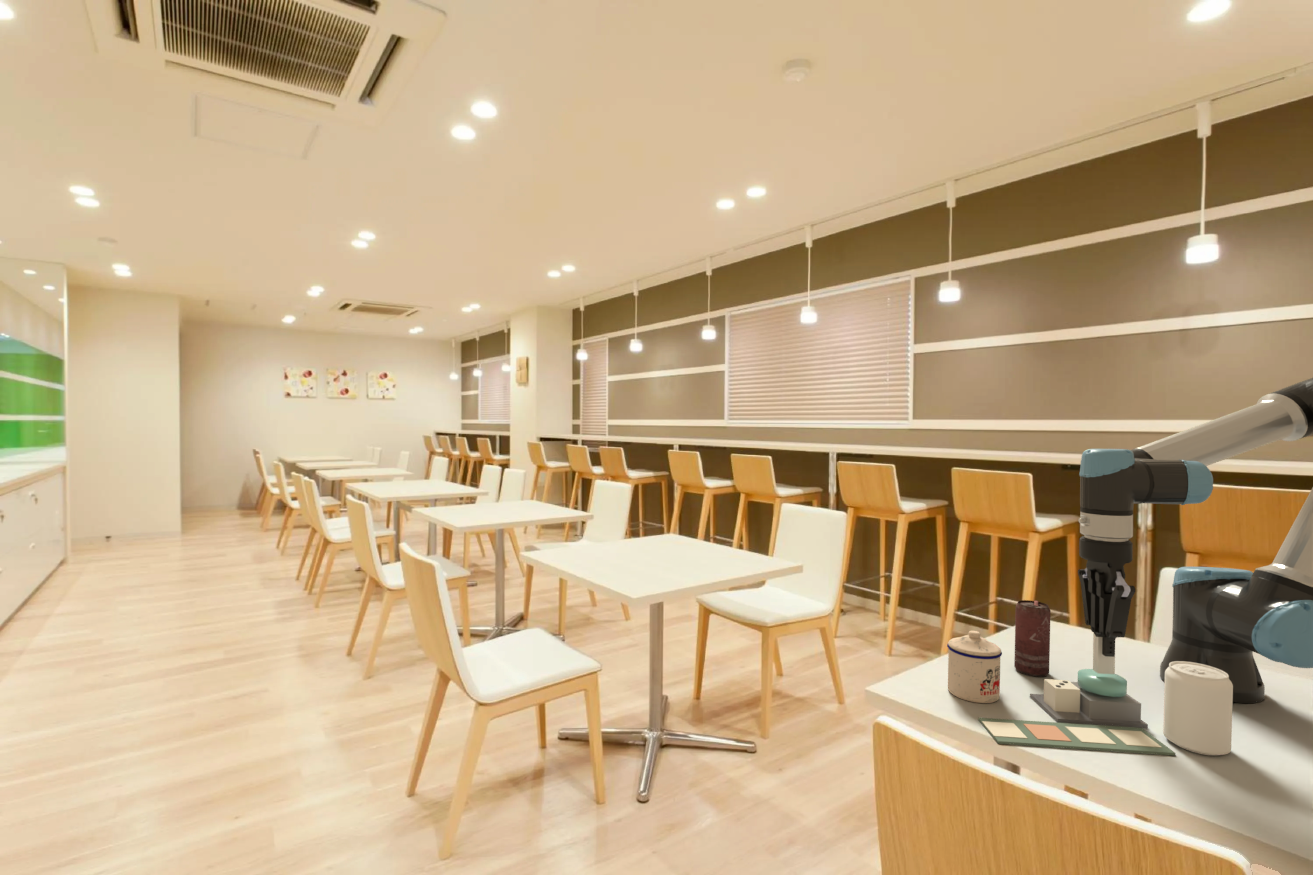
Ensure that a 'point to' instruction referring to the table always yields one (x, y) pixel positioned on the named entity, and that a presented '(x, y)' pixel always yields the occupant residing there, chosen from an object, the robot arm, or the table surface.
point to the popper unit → (1087, 706)
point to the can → (1032, 638)
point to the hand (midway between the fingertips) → (1103, 671)
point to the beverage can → (1198, 708)
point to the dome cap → (1102, 683)
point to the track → (1074, 736)
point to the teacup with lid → (974, 668)
